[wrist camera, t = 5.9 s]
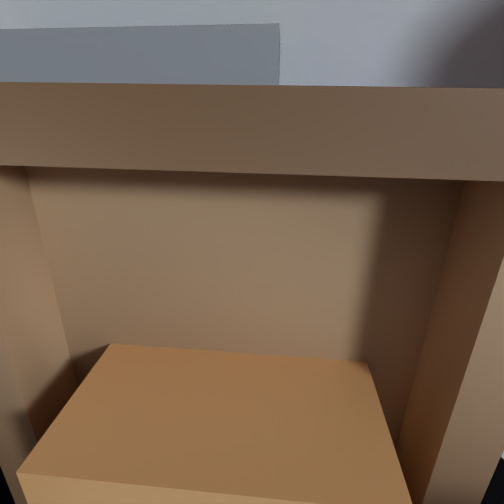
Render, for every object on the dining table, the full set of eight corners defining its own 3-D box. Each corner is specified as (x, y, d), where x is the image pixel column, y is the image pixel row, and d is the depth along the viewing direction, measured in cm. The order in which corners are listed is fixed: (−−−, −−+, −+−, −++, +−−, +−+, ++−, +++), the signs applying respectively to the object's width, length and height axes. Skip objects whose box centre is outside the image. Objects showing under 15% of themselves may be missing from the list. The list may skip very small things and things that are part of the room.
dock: (272, 338, 21) (270, 373, 19) (86, 329, 22) (58, 360, 20) (280, 38, 15) (279, 23, 12) (22, 43, 16) (-32, 29, 13)
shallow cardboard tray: (349, 497, 11) (385, 720, 7) (154, 477, 12) (84, 676, 8) (428, 99, 7) (658, 89, 3) (99, 95, 7) (-154, 80, 3)
